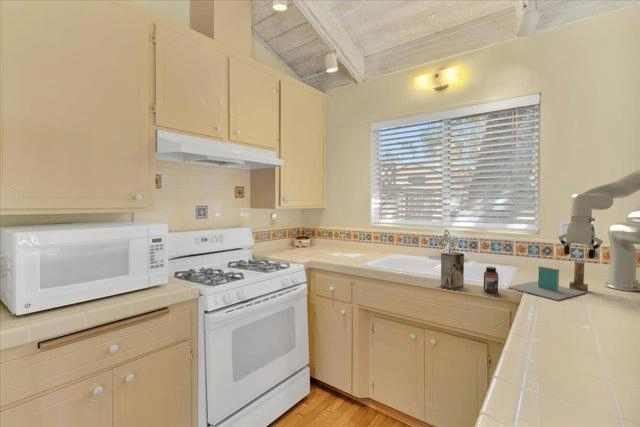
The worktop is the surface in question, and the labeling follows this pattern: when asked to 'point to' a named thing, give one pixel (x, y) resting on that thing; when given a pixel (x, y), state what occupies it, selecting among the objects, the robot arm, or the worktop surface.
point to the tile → (548, 278)
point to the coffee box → (452, 269)
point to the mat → (547, 291)
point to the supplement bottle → (491, 280)
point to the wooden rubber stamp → (579, 278)
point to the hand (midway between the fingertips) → (578, 256)
